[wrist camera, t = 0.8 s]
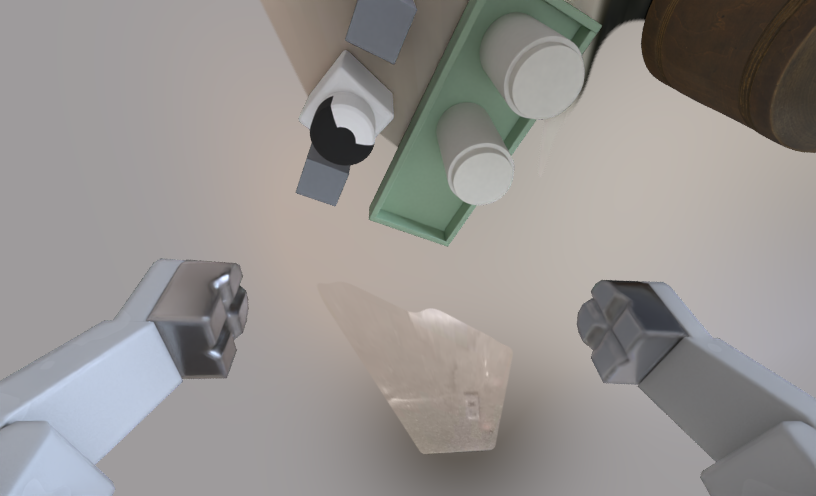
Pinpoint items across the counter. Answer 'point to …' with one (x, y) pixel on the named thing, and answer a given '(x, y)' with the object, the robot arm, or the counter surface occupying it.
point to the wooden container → (740, 61)
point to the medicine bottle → (347, 111)
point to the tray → (452, 84)
